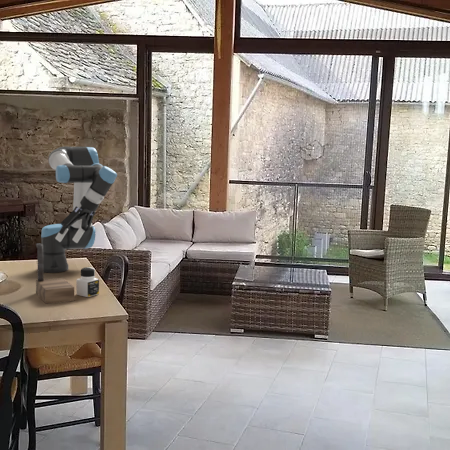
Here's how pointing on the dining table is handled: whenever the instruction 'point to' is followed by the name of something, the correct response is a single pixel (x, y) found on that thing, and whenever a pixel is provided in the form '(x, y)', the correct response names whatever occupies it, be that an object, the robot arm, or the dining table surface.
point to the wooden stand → (52, 284)
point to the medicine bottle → (87, 283)
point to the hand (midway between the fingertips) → (66, 240)
